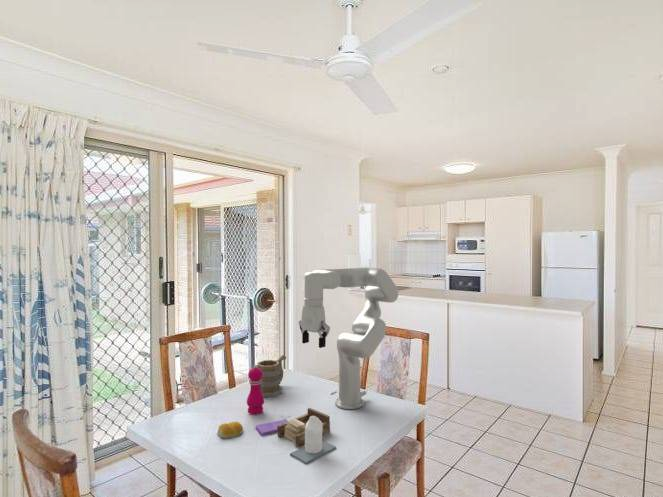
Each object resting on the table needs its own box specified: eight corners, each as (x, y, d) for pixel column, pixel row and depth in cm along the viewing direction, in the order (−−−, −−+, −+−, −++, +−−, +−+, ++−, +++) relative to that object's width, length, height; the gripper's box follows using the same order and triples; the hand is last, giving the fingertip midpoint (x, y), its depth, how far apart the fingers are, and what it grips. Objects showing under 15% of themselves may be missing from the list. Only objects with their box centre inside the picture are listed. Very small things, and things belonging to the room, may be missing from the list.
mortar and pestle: (269, 399, 181) (269, 366, 181) (249, 393, 188) (249, 361, 188) (296, 386, 198) (296, 356, 198) (277, 381, 205) (277, 352, 205)
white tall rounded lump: (320, 410, 139) (324, 417, 134) (320, 444, 139) (324, 452, 134) (303, 412, 137) (307, 419, 132) (303, 446, 138) (306, 455, 132)
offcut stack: (293, 432, 149) (293, 417, 149) (307, 439, 144) (307, 424, 144) (284, 436, 146) (284, 421, 146) (297, 444, 141) (297, 428, 141)
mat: (319, 440, 143) (319, 438, 143) (336, 448, 138) (336, 446, 138) (290, 455, 133) (290, 453, 133) (306, 464, 128) (306, 462, 128)
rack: (309, 422, 158) (309, 407, 158) (329, 432, 150) (329, 416, 150) (277, 436, 146) (277, 420, 146) (297, 447, 138) (297, 430, 138)
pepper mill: (266, 408, 171) (266, 362, 171) (261, 415, 164) (261, 367, 164) (249, 407, 172) (249, 361, 171) (244, 414, 164) (244, 366, 164)
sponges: (292, 430, 152) (292, 425, 152) (260, 437, 146) (260, 432, 146) (286, 422, 158) (286, 418, 158) (255, 429, 153) (255, 424, 153)
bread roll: (245, 434, 148) (245, 424, 148) (222, 441, 143) (222, 430, 143) (238, 426, 155) (238, 415, 155) (215, 431, 150) (215, 421, 150)
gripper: (292, 301, 163) (292, 342, 163) (322, 306, 151) (322, 350, 151) (306, 299, 168) (306, 339, 169) (335, 303, 156) (335, 347, 157)
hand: (313, 344), depth 160 cm, fingers open, 9 cm apart
